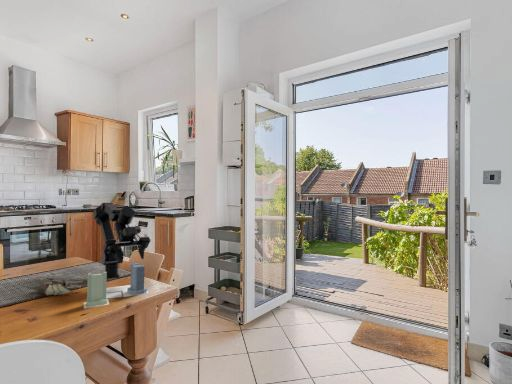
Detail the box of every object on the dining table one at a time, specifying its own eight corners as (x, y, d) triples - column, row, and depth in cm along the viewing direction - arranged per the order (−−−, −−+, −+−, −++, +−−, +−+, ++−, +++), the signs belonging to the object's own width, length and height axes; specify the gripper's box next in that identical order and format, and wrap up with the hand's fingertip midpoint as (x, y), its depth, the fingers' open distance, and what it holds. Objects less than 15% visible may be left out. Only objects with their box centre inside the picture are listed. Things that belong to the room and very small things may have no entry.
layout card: (81, 292, 120) (81, 290, 120) (141, 284, 132) (141, 283, 132) (83, 309, 102) (84, 308, 102) (152, 298, 114) (152, 297, 114)
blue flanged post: (127, 291, 121) (128, 264, 121) (140, 288, 124) (141, 262, 124) (133, 295, 116) (133, 267, 116) (146, 292, 120) (147, 265, 120)
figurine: (75, 272, 131) (92, 279, 121) (73, 286, 131) (90, 294, 120) (19, 278, 115) (33, 288, 105) (17, 294, 115) (31, 305, 105)
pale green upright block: (87, 306, 103) (88, 275, 104) (86, 303, 107) (87, 272, 107) (106, 303, 107) (107, 273, 107) (105, 300, 110) (106, 270, 110)
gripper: (105, 220, 123) (113, 251, 114) (149, 218, 135) (159, 246, 127) (99, 237, 128) (106, 267, 120) (141, 234, 141) (151, 261, 133)
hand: (132, 260), depth 125 cm, fingers open, 9 cm apart
